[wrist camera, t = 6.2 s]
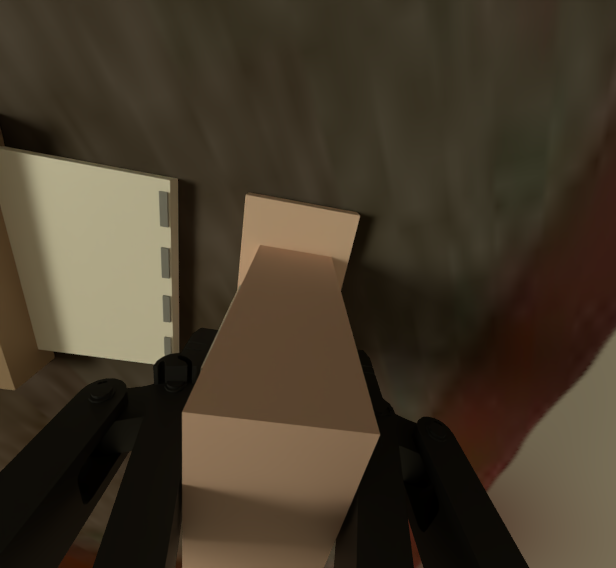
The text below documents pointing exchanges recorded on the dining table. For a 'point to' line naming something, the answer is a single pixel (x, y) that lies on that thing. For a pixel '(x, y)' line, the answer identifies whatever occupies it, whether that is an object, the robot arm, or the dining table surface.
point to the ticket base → (84, 263)
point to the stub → (278, 400)
